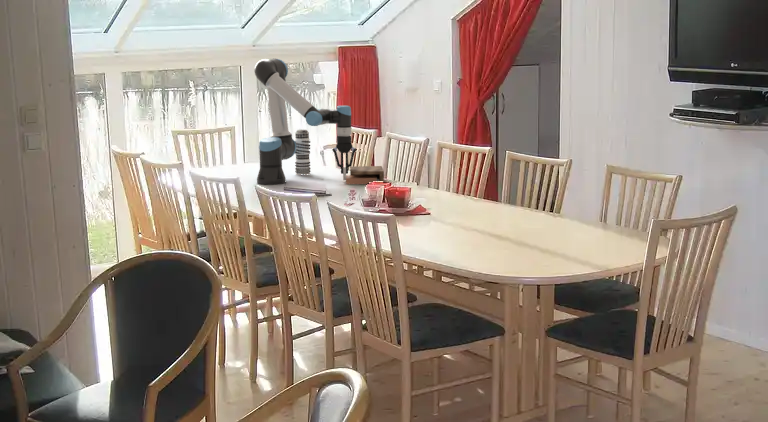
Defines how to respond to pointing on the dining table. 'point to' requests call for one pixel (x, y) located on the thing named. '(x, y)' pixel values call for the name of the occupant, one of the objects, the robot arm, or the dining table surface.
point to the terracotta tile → (360, 179)
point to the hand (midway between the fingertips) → (344, 179)
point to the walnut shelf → (368, 171)
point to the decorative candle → (302, 152)
